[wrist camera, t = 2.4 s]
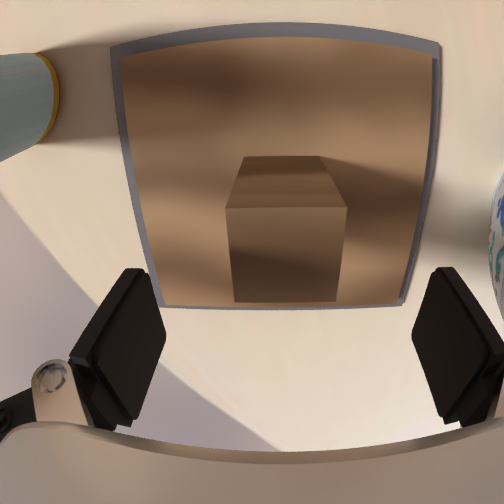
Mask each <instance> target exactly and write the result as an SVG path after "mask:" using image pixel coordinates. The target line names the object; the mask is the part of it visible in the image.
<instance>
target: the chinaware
mask: <svg viewBox="0 0 504 504" xmlns="http://www.w3.org/2000/svg"><path fill="white" fill-rule="evenodd" d="M488 252H489V266H490V274H491V279H492V284H493V289H494V293H495V297H496V300H497V303H498V306H499V309H500V312H501V315H502V318H503V320H504V171H503V173H502V174H501V176H500V178H499V180H498V182H497V185H496V188H495V191H494V195H493V201H492V214H491V220H490V228H489V242H488Z"/></svg>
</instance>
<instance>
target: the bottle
mask: <svg viewBox="0 0 504 504" xmlns="http://www.w3.org/2000/svg"><path fill="white" fill-rule="evenodd" d="M58 105H59V83H58V79H57V75H56V72H55V69H54V68H53V66H52V65H51V63H50V61H49V60H48V59H46V58H45V57H43V56H42V55H40V54H35V53H19V54H8V55H0V162H1V161H3V160H5V159H7V158H9V157H11V156H13V155H15V154H17V153H19V152H22V151H24V150H26V149H28V148H30V147H31V146H33V145H35V144H37V143H38V142H40V141H41V140H43V139H44V137H45V136H46V135H47V134H48V132H49V131H50V129H51V127H52V125H53V123H54V120H55V118H56V115H57V110H58Z"/></svg>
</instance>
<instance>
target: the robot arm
mask: <svg viewBox="0 0 504 504" xmlns="http://www.w3.org/2000/svg"><path fill="white" fill-rule="evenodd" d="M165 341H166V331H165V328H164V324H163V321H162V318H161V314H160V311H159V308H158V304H157V301H156V297H155V294H154V290H153V286H152V283H151V279H150V276H149V274H148V273H145V271H144V270H143V269H142V268H127V269H125V270H124V271H123V273H122V274H121V276H120V277H119V278H118V280H117V281H116V283H115V284H114V286H113V287H112V289H111V290H110V292H109V293H108V294H107V296H106V297H105V299H104V300H103V302H102V303H101V305H100V306H99V308H98V310H97V311H96V313H95V314H94V316H93V317H92V319H91V321H90V322H89V324H88V325H87V327H86V328H85V330H84V331H83V333H82V335H81V336H80V338H79V340H78V341H77V343H76V344H75V346H74V348H73V349H72V351H71V353H70V354H69V356H70V359H69V361H68V363H67V362H65V361H63V360H60V359H54V360H50V361H48V362H45V363H43V364H42V365H41V366H40V367H38V368H37V370H36V371H35V373H34V374H33V377H32V382H31V386H32V387H31V388H29V389H27V390H25V391H22V392H20V393H18V394H16V395H14V396H12V397H9V398H7V399H5V400H3V401H1V402H0V504H504V342H503V340H502V339H501V337H500V335H499V334H498V332H497V330H496V329H495V327H494V325H493V324H492V322H491V321H490V319H489V318H488V316H487V314H486V313H485V311H484V310H483V308H482V307H481V305H480V304H479V302H478V301H477V299H476V298H475V297H474V295H473V294H472V292H471V291H470V289H469V288H468V287H467V285H466V284H465V282H464V281H463V280H462V278H461V277H460V276H459V274H458V273H457V272H456V270H455V269H454V268H453V267H438V268H437V269H436V270H435V272H432V274H431V276H430V279H429V282H428V286H427V289H426V292H425V295H424V298H423V301H422V304H421V307H420V310H419V313H418V316H417V318H416V321H415V324H414V327H413V329H412V341H413V344H414V346H415V349H416V352H417V354H418V357H419V360H420V362H421V365H422V368H423V370H424V373H425V376H426V379H427V382H428V385H429V388H430V391H431V394H432V397H433V400H434V403H435V406H436V409H437V412H438V415H439V416H440V417H443V421H444V424H445V425H446V424H450V423H453V422H457V421H458V420H459V422H460V425H461V426H460V428H459V429H456V430H452V431H448V432H444V433H440V434H436V435H431V436H427V437H422V438H418V439H413V440H407V441H402V442H396V443H390V444H383V445H376V446H369V447H360V448H351V449H340V450H327V451H306V452H260V451H259V452H258V451H239V450H224V449H213V448H204V447H195V446H187V445H181V444H173V443H167V442H162V441H156V440H151V439H145V438H140V437H135V436H130V435H125V434H121V433H116V432H115V429H116V426H117V424H118V425H122V426H127V427H131V425H132V422H133V420H136V419H137V418H138V416H139V414H140V410H141V408H142V405H143V402H144V399H145V396H146V394H147V391H148V388H149V385H150V382H151V380H152V377H153V374H154V371H155V369H156V366H157V363H158V360H159V358H160V355H161V352H162V350H163V347H164V344H165Z"/></svg>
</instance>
